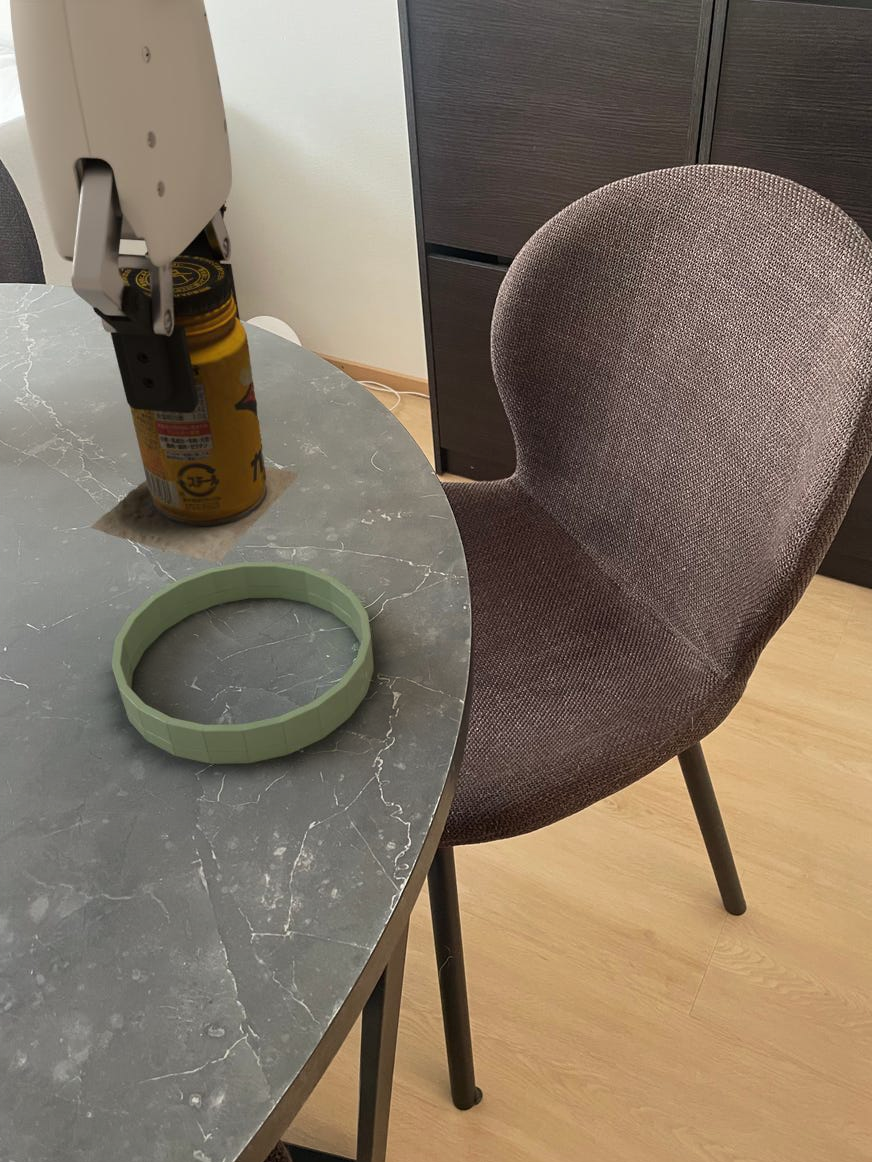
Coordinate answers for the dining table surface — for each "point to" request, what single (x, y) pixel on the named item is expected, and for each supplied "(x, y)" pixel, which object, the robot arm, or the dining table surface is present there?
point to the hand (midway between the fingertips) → (188, 369)
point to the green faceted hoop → (261, 735)
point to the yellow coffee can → (200, 433)
